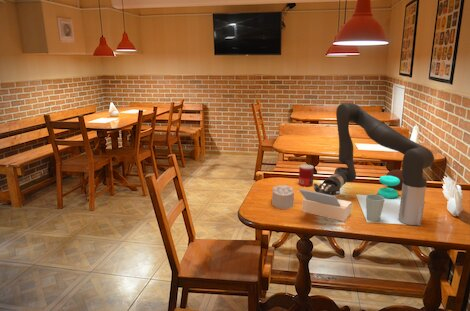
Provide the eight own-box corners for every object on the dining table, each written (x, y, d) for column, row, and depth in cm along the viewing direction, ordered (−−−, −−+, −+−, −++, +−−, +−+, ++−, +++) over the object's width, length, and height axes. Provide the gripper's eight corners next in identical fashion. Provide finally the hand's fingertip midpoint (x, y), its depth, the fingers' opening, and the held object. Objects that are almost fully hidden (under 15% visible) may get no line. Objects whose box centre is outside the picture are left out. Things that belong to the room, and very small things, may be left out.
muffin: (381, 187, 207) (383, 170, 204) (389, 182, 215) (390, 166, 212) (403, 192, 199) (405, 175, 196) (410, 187, 207) (412, 170, 204)
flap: (340, 205, 162) (334, 195, 153) (340, 207, 162) (334, 197, 153) (306, 198, 171) (299, 188, 161) (306, 199, 170) (298, 189, 161)
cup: (385, 222, 162) (387, 200, 160) (368, 222, 162) (370, 200, 159) (377, 215, 169) (379, 194, 167) (361, 215, 169) (363, 194, 166)
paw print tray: (292, 199, 188) (293, 183, 186) (294, 209, 176) (294, 192, 173) (272, 199, 189) (272, 183, 187) (272, 208, 177) (272, 191, 174)
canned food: (312, 187, 207) (313, 168, 204) (298, 186, 208) (299, 167, 205) (312, 183, 214) (313, 164, 211) (298, 182, 215) (299, 164, 213)
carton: (350, 214, 171) (351, 201, 169) (343, 221, 163) (345, 208, 161) (309, 204, 181) (310, 193, 180) (302, 211, 174) (302, 199, 172)
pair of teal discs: (379, 174, 198) (399, 175, 195) (377, 191, 201) (397, 193, 197) (380, 179, 189) (401, 181, 186) (378, 197, 191) (398, 200, 188)
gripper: (320, 173, 178) (305, 184, 164) (347, 178, 170) (334, 190, 157) (319, 188, 180) (304, 199, 166) (346, 194, 172) (333, 206, 159)
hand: (319, 195), depth 161 cm, fingers closed
